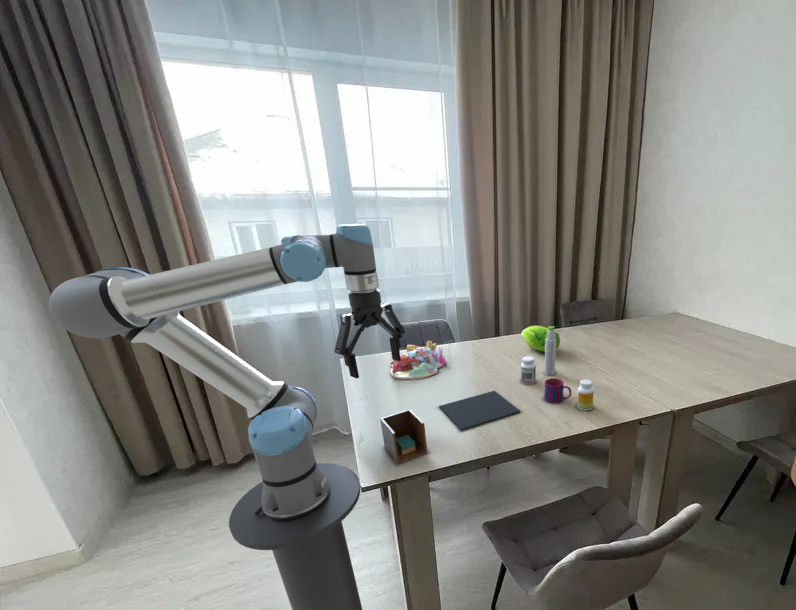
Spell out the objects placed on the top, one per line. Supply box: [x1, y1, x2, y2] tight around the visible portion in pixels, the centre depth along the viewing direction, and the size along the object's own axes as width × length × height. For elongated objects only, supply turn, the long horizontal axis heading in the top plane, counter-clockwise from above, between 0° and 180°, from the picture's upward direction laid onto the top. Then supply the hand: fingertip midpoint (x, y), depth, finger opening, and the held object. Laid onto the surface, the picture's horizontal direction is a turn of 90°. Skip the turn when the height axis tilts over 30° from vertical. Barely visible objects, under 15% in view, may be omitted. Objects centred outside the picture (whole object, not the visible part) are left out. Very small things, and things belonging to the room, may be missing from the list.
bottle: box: [544, 325, 557, 376], centre depth 161 cm, size 4×4×20 cm
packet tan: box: [397, 445, 416, 455], centre depth 115 cm, size 5×4×1 cm
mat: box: [438, 390, 521, 432], centre depth 137 cm, size 22×18×1 cm
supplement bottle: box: [576, 379, 595, 411], centre depth 137 cm, size 5×5×10 cm
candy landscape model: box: [390, 340, 446, 380], centre depth 171 cm, size 25×24×9 cm
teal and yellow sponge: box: [396, 435, 415, 451], centre depth 115 cm, size 5×4×1 cm
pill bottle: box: [520, 355, 537, 385], centre depth 156 cm, size 6×6×10 cm
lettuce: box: [520, 325, 561, 353], centre depth 188 cm, size 13×23×12 cm, turn 41°
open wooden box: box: [379, 408, 429, 465], centre depth 114 cm, size 10×9×10 cm
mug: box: [543, 377, 572, 404], centre depth 142 cm, size 7×10×7 cm
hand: (376, 368), depth 108 cm, fingers open, 13 cm apart
